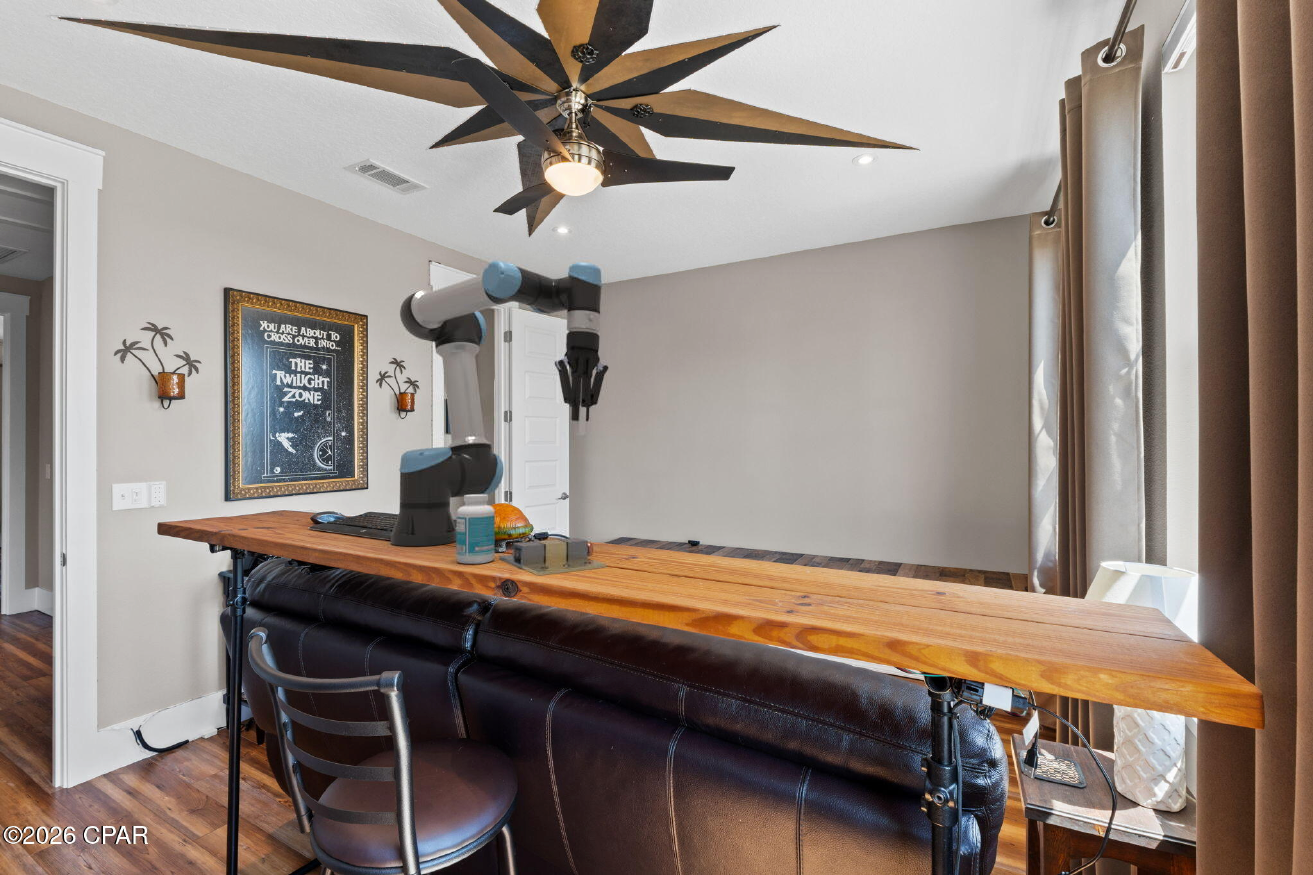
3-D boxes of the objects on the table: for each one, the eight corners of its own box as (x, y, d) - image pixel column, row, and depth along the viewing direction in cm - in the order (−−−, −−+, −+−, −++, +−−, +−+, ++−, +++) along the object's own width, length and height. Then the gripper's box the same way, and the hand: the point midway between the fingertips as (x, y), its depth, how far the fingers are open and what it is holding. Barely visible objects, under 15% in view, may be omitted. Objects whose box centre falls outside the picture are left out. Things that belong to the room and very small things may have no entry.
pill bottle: (499, 558, 121) (500, 493, 121) (486, 565, 113) (487, 496, 114) (465, 557, 121) (466, 493, 122) (449, 564, 114) (450, 495, 115)
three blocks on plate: (499, 558, 120) (499, 538, 120) (560, 552, 128) (560, 533, 128) (538, 575, 104) (539, 551, 104) (606, 567, 112) (606, 545, 112)
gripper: (564, 326, 126) (560, 434, 125) (616, 334, 133) (612, 436, 133) (549, 331, 132) (546, 434, 131) (599, 338, 139) (596, 436, 139)
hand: (579, 435), depth 132 cm, fingers closed
